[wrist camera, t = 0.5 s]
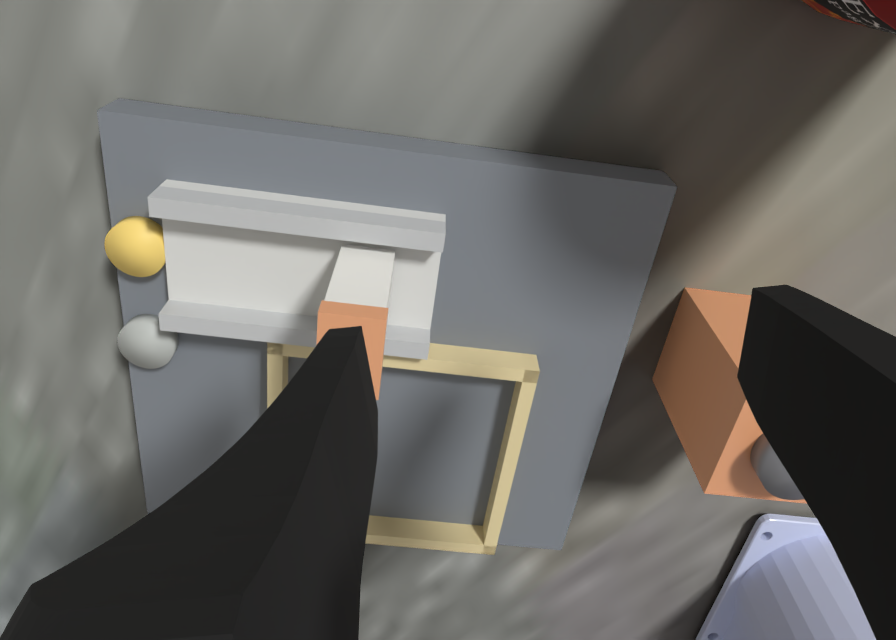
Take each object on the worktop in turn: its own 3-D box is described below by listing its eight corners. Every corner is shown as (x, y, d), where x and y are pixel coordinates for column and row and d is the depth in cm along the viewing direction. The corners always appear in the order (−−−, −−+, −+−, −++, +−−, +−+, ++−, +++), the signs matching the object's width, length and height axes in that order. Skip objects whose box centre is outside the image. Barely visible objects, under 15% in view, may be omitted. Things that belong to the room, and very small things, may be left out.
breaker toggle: (389, 320, 22) (378, 400, 18) (336, 314, 21) (314, 393, 18) (397, 249, 20) (386, 320, 17) (340, 242, 20) (317, 312, 17)
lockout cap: (752, 390, 26) (841, 525, 20) (651, 379, 26) (713, 513, 20) (792, 300, 24) (904, 421, 18) (684, 287, 24) (762, 406, 18)
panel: (556, 522, 30) (567, 580, 27) (160, 485, 28) (132, 541, 26) (663, 171, 22) (693, 204, 19) (119, 98, 20) (71, 123, 18)
